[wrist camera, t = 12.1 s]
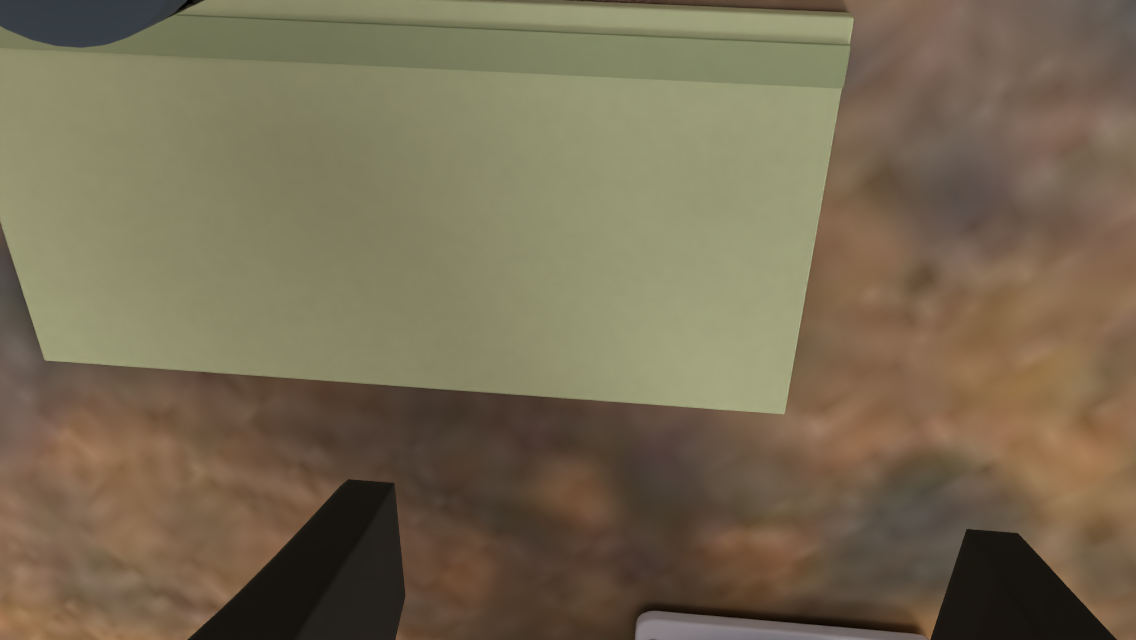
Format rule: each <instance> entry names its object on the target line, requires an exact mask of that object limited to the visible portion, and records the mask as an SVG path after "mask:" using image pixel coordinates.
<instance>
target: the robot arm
mask: <svg viewBox="0 0 1136 640" xmlns="http://www.w3.org/2000/svg"><path fill="white" fill-rule="evenodd" d="M404 599H405V588H404V577H403V567H402V557H401V546H400V536H399V526H398V515H397V505H396V494H395V484H394V483H387V482H374V481H362V480H349V479H348V480H347V481H346V482H345V483H343V484H342V485H341V486H340V487H339V488H338V489H337V490H336V491H335V492H334V493H333V495H332V496H331V497H330V498H329V499H328V500H327V501H326V502H325V503H324V504H323V505H322V507H321V508H320V509H319V510H318V511H317V512H316V513H315V514H314V515H313V516H312V517H311V518H310V520H309V521H308V522H307V523H306V524H305V525H304V526H303V527H302V528H301V529H300V530H299V531H298V532H297V533H296V535H295V536H294V537H293V538H292V539H291V540H290V541H289V542H288V543H287V544H286V545H285V546H284V547H283V548H282V549H281V550H280V551H279V552H278V553H277V554H276V556H275V557H274V558H273V559H272V560H271V561H270V562H269V563H268V564H267V565H266V566H265V567H264V568H263V569H262V570H261V571H260V572H259V573H258V574H257V575H256V576H255V577H254V578H253V579H252V580H251V581H250V582H249V583H248V584H247V585H246V586H245V587H244V588H243V589H241V590H240V591H239V592H238V593H237V594H236V595H235V596H234V597H233V598H232V599H231V600H230V601H229V602H228V603H227V604H226V605H225V606H224V607H223V608H222V609H221V610H220V611H218V612H217V613H216V614H215V615H214V616H213V617H212V618H211V619H210V620H209V621H207V622H206V623H205V624H204V625H203V626H202V627H201V628H200V629H199V630H198V631H197V632H195V633H194V634H193V635H192V636H191V637H190V638H189V639H188V640H395V638H396V634H397V630H398V625H399V621H400V617H401V612H402V608H403V604H404ZM652 639H654V640H929V639H928V638H926V637H925V636H923V635H919V634H913V633H901V632H890V631H879V630H867V629H856V628H845V627H833V626H822V625H811V624H799V623H788V622H777V621H766V620H754V619H743V618H732V617H720V616H709V615H698V614H686V613H675V612H664V611H648V612H645V613H642V614H641V615H640V616H639V617H638V619H637V622H636V632H635V640H652ZM931 640H1117V639H1116V638H1115V637H1114V636H1113V635H1112V634H1111V633H1110V632H1109V631H1108V630H1107V629H1106V628H1105V627H1104V626H1103V625H1102V624H1101V623H1100V621H1099V620H1098V619H1097V618H1096V617H1095V616H1094V615H1093V614H1092V613H1091V612H1090V611H1089V610H1088V608H1087V607H1086V606H1085V605H1084V604H1083V603H1082V602H1081V601H1080V600H1079V599H1078V598H1077V597H1076V596H1075V594H1074V593H1073V592H1072V591H1071V590H1070V589H1069V588H1068V587H1067V586H1066V585H1065V584H1064V582H1063V581H1062V580H1061V579H1060V578H1059V577H1058V576H1057V575H1056V574H1055V573H1054V572H1053V570H1052V569H1051V568H1050V567H1049V566H1048V565H1047V564H1046V563H1045V562H1044V561H1043V560H1042V559H1041V557H1040V556H1039V555H1038V554H1037V553H1036V552H1035V551H1034V550H1033V549H1032V548H1031V547H1030V546H1029V545H1028V544H1027V542H1026V541H1025V540H1024V539H1023V538H1022V537H1021V536H1020V535H1019V534H1018V533H1009V532H996V531H984V530H971V529H967V530H966V533H965V536H964V539H963V542H962V545H961V548H960V551H959V554H958V557H957V560H956V563H955V566H954V569H953V573H952V576H951V579H950V582H949V585H948V588H947V591H946V594H945V597H944V600H943V603H942V606H941V609H940V612H939V615H938V618H937V621H936V624H935V628H934V631H933V634H932V637H931Z"/></svg>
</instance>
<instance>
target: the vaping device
mask: <svg viewBox="0 0 1136 640" xmlns="http://www.w3.org/2000/svg"><path fill="white" fill-rule="evenodd" d="M202 1H204V0H0V26H1V27H3V28H4V29H6V30H8V31H11V32H13V33H16V34H18V35H21V36H23V37H25V38H28V39H30V40H34V41H38V42H42V43H46V44H50V45H54V46H62V47H77V48H85V47H93V46H102V45H107V44H110V43H113V42H116V41H119V40H122V39H125V38H128V37H130V36H132V35H134V34H136V33H138V32H140V31H142V30H144V29H146V28H148V27H151V26H153V25H155V24H157V23H158V22H161V21H163V20H165V19H167V18H169V17H171V16H173V15H175V14H177V13H180V12H182V11H184V10H186V9H187V8H189V7H192V6H194V5H196V4H198V3H200V2H202ZM187 5H188V6H187ZM185 8H186V9H185ZM177 11H178V12H177Z"/></svg>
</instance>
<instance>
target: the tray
mask: <svg viewBox="0 0 1136 640" xmlns="http://www.w3.org/2000/svg"><path fill="white" fill-rule="evenodd" d="M187 6H188V5H187ZM185 9H186V8H185ZM177 12H178V11H177ZM853 22H854V17H853V16H852V14H851V13H849V12H825V11H802V10H779V9H755V8H732V7H709V6H685V5H662V4H639V3H615V2H592V1H568V0H204V1H202V2H200V3H198V4H196V5H194V6H192V7H189V8H187V9H186V10H184V11H182V12H180V13H177V14H175V15H173V16H171V17H169V18H167V19H165V20H163V21H161V22H158V23H157V24H155V25H153V26H151V27H148V28H146V29H144V30H142V31H140V32H138V33H136V34H134V35H132V36H130V37H128V38H125V39H122V40H119V41H116V42H113V43H110V44H107V45H102V46H93V47H85V48H77V47H62V46H54V45H50V44H46V43H42V42H38V41H34V40H30V39H28V38H25V37H23V36H21V35H18V34H16V33H13V32H11V31H8V30H6V29H4V28H3V27H1V26H0V222H1V225H2V229H3V232H4V235H5V238H6V241H7V244H8V247H9V250H10V254H11V257H12V260H13V263H14V266H15V269H16V272H17V275H18V278H19V282H20V285H21V288H22V291H23V294H24V297H25V300H26V303H27V307H28V310H29V313H30V316H31V319H32V322H33V325H34V328H35V332H36V335H37V338H38V341H39V344H40V347H41V350H42V353H43V356H44V359H45V360H48V361H62V362H75V363H89V364H103V365H117V366H130V367H144V368H158V369H172V370H185V371H199V372H213V373H226V374H240V375H254V376H268V377H281V378H295V379H309V380H322V381H336V382H350V383H364V384H377V385H391V386H405V387H418V388H432V389H446V390H460V391H473V392H487V393H501V394H514V395H528V396H542V397H556V398H569V399H583V400H597V401H610V402H624V403H638V404H652V405H665V406H679V407H693V408H706V409H720V410H734V411H748V412H761V413H775V414H784V413H785V408H786V403H787V397H788V391H789V386H790V380H791V374H792V369H793V363H794V357H795V352H796V346H797V340H798V335H799V329H800V323H801V318H802V312H803V306H804V301H805V295H806V289H807V284H808V278H809V272H810V267H811V261H812V255H813V250H814V244H815V238H816V232H817V227H818V221H819V215H820V210H821V204H822V198H823V193H824V187H825V181H826V176H827V170H828V164H829V159H830V153H831V147H832V142H833V136H834V130H835V125H836V119H837V113H838V108H839V102H840V96H841V91H842V89H843V88H844V82H845V77H846V71H847V65H848V60H849V54H850V48H851V46H850V39H851V34H852V28H853Z"/></svg>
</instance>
